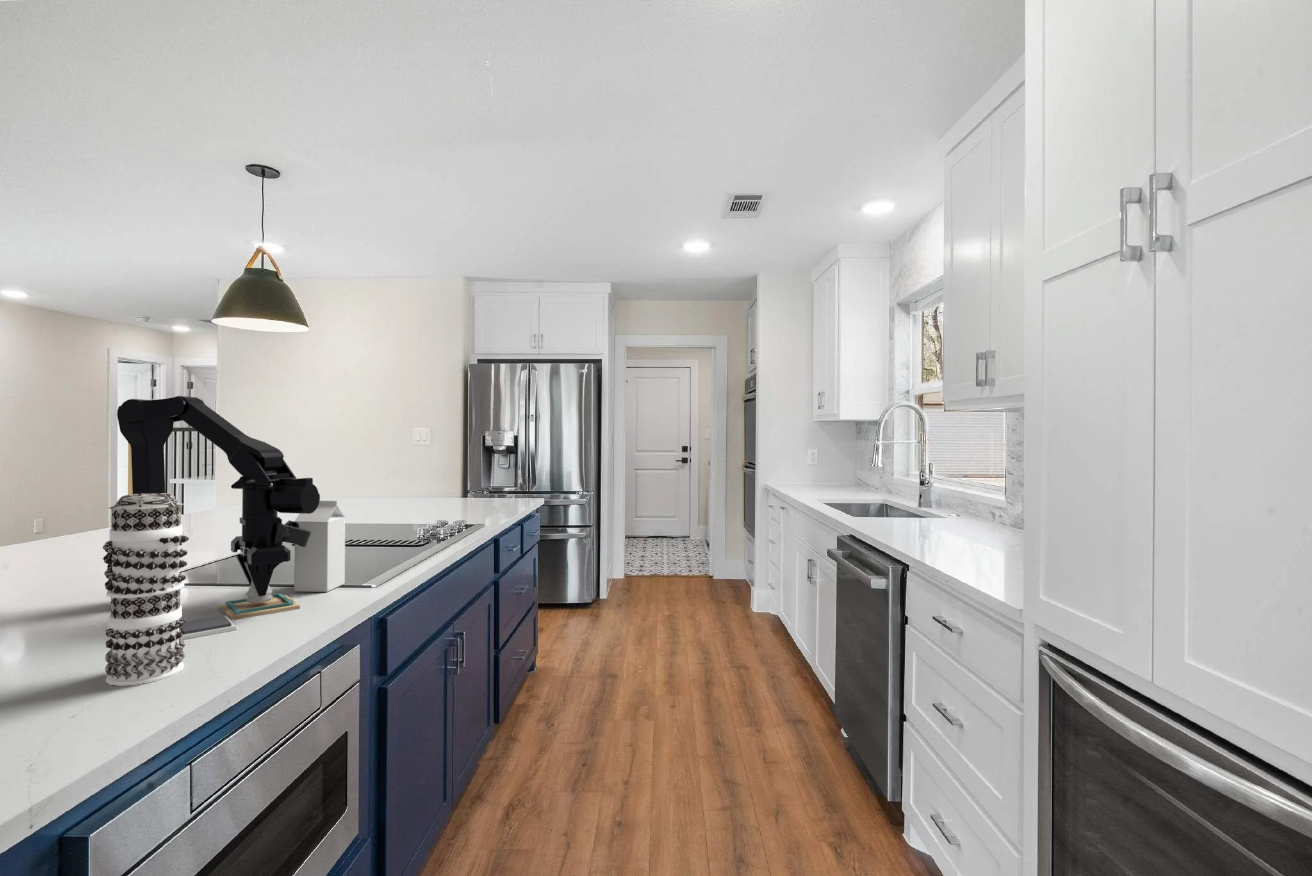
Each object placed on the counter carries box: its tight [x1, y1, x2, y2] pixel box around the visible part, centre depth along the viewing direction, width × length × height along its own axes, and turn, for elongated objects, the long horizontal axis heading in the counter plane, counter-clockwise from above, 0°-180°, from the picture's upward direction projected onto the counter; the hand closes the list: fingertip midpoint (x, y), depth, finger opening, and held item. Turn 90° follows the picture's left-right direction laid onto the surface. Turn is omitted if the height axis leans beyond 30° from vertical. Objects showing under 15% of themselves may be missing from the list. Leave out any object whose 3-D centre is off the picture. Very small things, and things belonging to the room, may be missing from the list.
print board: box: [218, 592, 301, 621], centre depth 118 cm, size 11×11×1 cm
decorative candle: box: [102, 492, 190, 687], centre depth 86 cm, size 9×9×25 cm
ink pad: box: [180, 614, 237, 641], centre depth 105 cm, size 8×8×1 cm
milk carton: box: [293, 500, 346, 593], centre depth 133 cm, size 7×7×19 cm
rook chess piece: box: [245, 582, 274, 603], centre depth 118 cm, size 4×4×8 cm
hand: (259, 593), depth 118 cm, fingers closed on rook chess piece, 4 cm apart
